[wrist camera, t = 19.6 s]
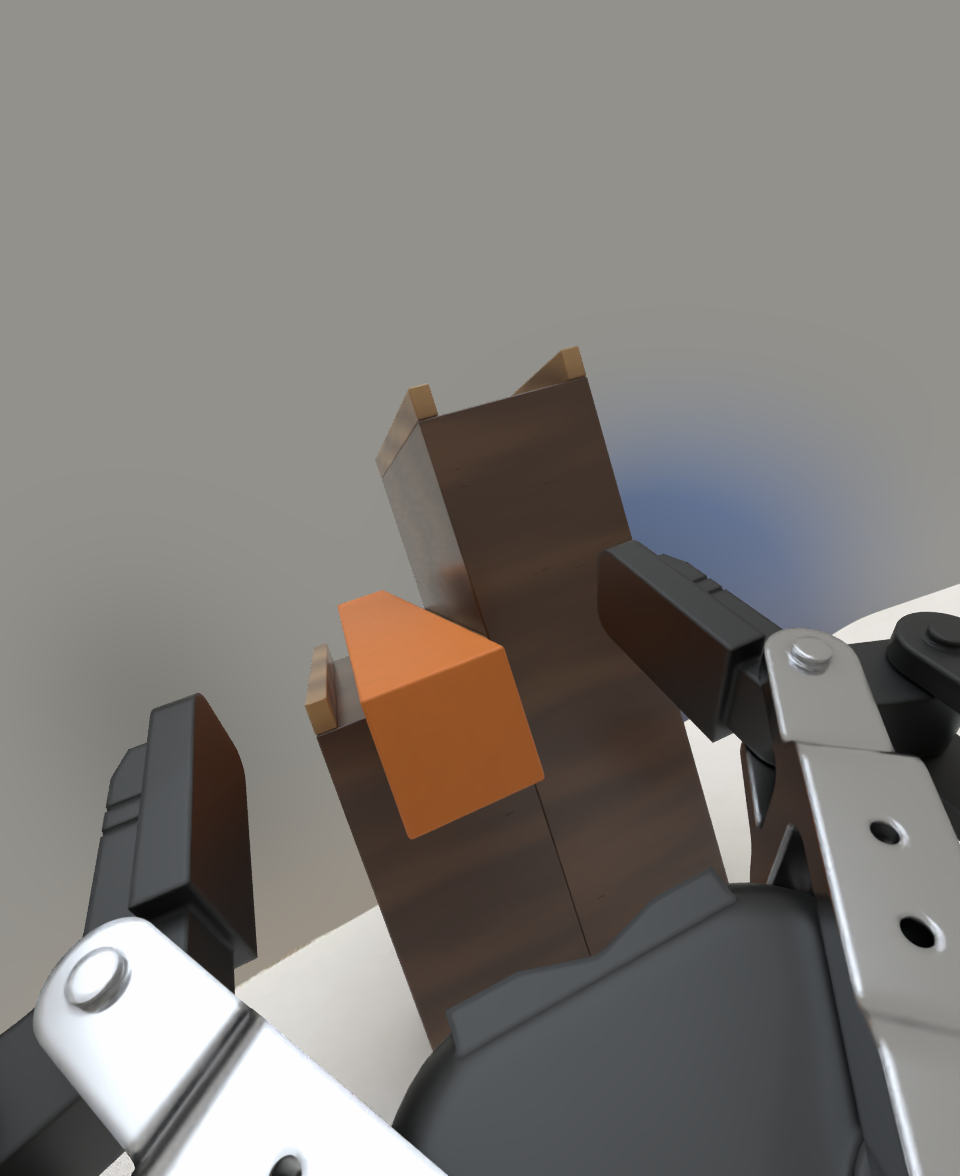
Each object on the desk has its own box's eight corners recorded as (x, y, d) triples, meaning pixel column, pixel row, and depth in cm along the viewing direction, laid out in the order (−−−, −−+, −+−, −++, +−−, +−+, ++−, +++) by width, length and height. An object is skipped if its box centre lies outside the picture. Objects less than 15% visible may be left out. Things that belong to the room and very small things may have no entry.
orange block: (547, 779, 11) (504, 645, 11) (409, 842, 11) (359, 700, 10) (398, 633, 36) (383, 589, 35) (353, 650, 35) (337, 605, 34)
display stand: (779, 1063, 26) (578, 344, 21) (505, 1247, 22) (205, 438, 18) (623, 890, 39) (481, 429, 35) (438, 989, 36) (257, 492, 32)
